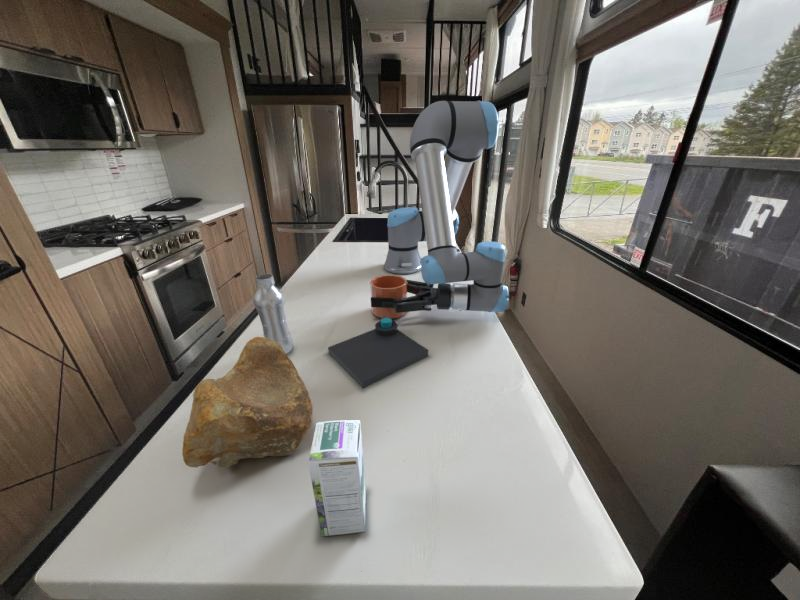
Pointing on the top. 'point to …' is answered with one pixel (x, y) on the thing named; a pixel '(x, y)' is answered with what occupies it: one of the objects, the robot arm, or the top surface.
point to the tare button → (386, 323)
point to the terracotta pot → (388, 293)
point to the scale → (377, 354)
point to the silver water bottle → (272, 312)
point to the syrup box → (338, 477)
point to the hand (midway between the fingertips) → (375, 293)
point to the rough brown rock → (248, 410)
